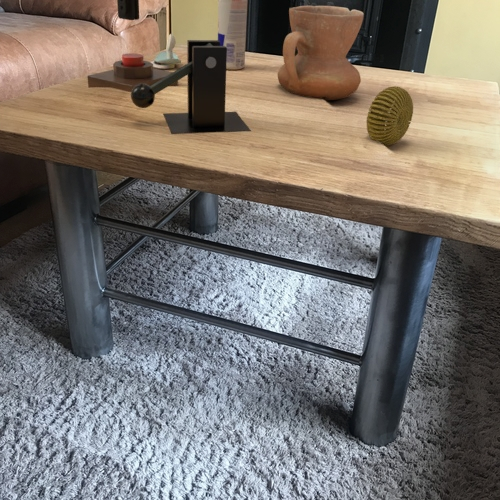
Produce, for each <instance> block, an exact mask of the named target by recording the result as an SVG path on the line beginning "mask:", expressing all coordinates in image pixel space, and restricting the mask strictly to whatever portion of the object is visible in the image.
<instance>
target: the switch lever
mask: <svg viewBox="0 0 500 500" xmlns="http://www.w3.org/2000/svg"><path fill="white" fill-rule="evenodd" d="M205 46H212V45H211V44H210V43H208V44H207V45H205ZM172 72H173V73H171V74H170V75H168V76H166V77H165V78H163V79H161V80H160V81H158V82H156V83H155V84H153V85H151V86H149V85H147V84H138V85H136V86H135V87H134V88H133V89H132V91H131V92H130V99H131V101H132V103H133V104H134V106H136V107H138V108H140V109H148V108H150V107H151V106H152V105H153V104H154V102H155V100H156V94H158V93H160V92H161V91H163V90H164V89H166V88H168V87H171V86H170V85H171V84H173V83H175V82H176V81H178V82H179V80H181V79H183V78H185V77H186V76H188V74H189V73H191V72H192V61H191V62H189V63H188V64H187V63H186V64H185V65H183V66H181V67H180V68H178V69H176V70H174V71H172Z"/></svg>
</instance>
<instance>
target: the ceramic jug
mask: <svg viewBox="0 0 500 500" xmlns="http://www.w3.org/2000/svg"><path fill="white" fill-rule="evenodd" d="M288 14H289V23H290V24H289V25H290V28H291V32H290V33H288V34H287V35H286V36H285V38H284V41H283V45H282V57H283V58H282V59H283V64H282V65H281V66H280V68H279V69H278V72H277V81H278V83H279V85H280V86H281V87H282V88H283V89H284V90H286V91H287V92H289V93H290V94H294V95H297V96H300V97H301V96H302V97H305V98H306V97H307V98H314V99H322V100H323V101H337V100H342V99H345V98H347V97H350V96H352V95H353V94H354V93H355V92H356V91H357V90H358V88H359V86H360V85H361V82H362V78H361V74H360V71H359V70H358V68H357V67H356V66H354V65H353V64H352V63H351V62H350V61H349V60H348V58H347V55H348V53H349V51H350V50H351V48H352V46H353V44H354V43H355V41H356V39H357V36H358V33H359V32H360V29H361V27H362V24H363V21H364V15H365V14H364V12H363V11H361V10H357V9H351V10H350V9H349V8H348V7H343V6H342V7H341V6H333V5H332V6H331V5H300V6H296V7H289V10H288ZM296 50H297V53H296Z"/></svg>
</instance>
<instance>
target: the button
mask: <svg viewBox="0 0 500 500" xmlns="http://www.w3.org/2000/svg"><path fill="white" fill-rule="evenodd" d="M144 58H145V57H144V55H143V54H141V53H134V52H133V53H132V52H131V53H124V54H122V55H121V60H122V65H124V66H130V67H137V66H144V61H145V59H144Z"/></svg>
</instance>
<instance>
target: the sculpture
mask: <svg viewBox="0 0 500 500" xmlns="http://www.w3.org/2000/svg"><path fill="white" fill-rule="evenodd" d="M413 116H414V102H413V98H412V96H411V94H410V93H409V92H408V91H407V89H405V88H403V87H400V86H389V87H387V88H384V89H383V90H381V91H380V92H379V93H378V94H377V95H376V96H375V98H374V99H373V100H372V102H371V103H370V106H369V109H368V112H367V116H366V130H367V134H368V136H369V138H370V139H371V140H372V141H375V142H378V143H380V144H381V145H382V146H385V147H387V146H392V145H394V144H396V143H398V142H399V141H401V139H402V138H403V137H404V136H405V135H406V134H407V131H408V130H409V128H410V125H411V122H412V119H413Z"/></svg>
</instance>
